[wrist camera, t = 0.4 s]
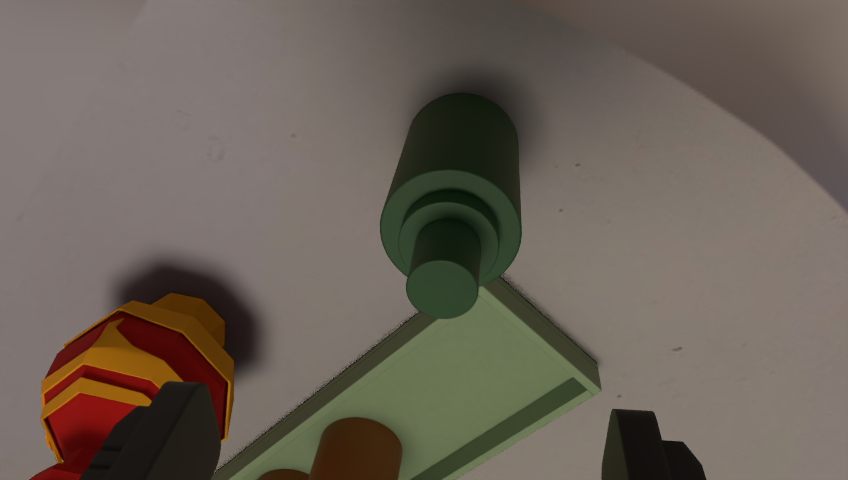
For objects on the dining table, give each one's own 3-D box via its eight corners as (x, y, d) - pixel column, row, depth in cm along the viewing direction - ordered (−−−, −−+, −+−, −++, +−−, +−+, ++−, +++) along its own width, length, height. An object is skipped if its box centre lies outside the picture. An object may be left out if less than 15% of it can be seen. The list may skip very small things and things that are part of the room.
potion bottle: (89, 337, 45) (-78, 537, 32) (142, 229, 40) (-30, 415, 27) (229, 409, 47) (125, 623, 34) (295, 316, 42) (204, 526, 29)
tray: (483, 261, 38) (481, 285, 36) (597, 363, 41) (602, 391, 39) (206, 479, 51) (194, 505, 49) (309, 545, 54) (301, 572, 52)
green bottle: (404, 92, 34) (355, 217, 23) (521, 93, 33) (528, 222, 22) (409, 194, 37) (367, 349, 26) (515, 197, 36) (519, 357, 25)
